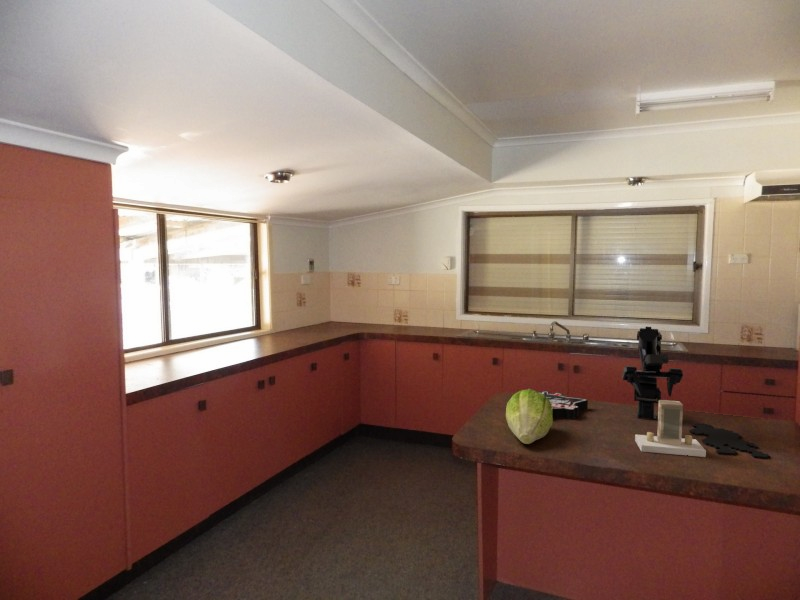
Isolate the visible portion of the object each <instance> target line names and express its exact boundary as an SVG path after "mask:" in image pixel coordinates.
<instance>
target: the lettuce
mask: <svg viewBox="0 0 800 600" xmlns="http://www.w3.org/2000/svg"><path fill="white" fill-rule="evenodd" d="M539 392H540V391H536V390H534V389H531V388H527V389H521V390H519V391H517V392H515V393H514V394H512V396H511V398H510V399H509V400H508V401H507V404H506V406H505V407H506V408H505V409H506V410H505V419H506V422H507V425H508V429H510V431H511V433H513V435H514V436H515V437H516V438H517V439H518V440H519V441H520V442H521V443H522V444H524V445H525V444H526V445H530V444H532V443H534V442H535V441H538V440H540V439H541V438H544V437H546V435H547V434H548V433H549V431H550V429H551V427H552V425H553V423H554V418H553V417H552V412H553V409H552V406H551V403H550V401H549V399H547V398H546V397H545V396H544V395H543V394H541V393H539Z"/></svg>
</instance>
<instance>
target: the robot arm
mask: <svg viewBox="0 0 800 600" xmlns="http://www.w3.org/2000/svg"><path fill="white" fill-rule="evenodd" d="M636 333H637V334H636V341H638V344H637V345H638V354H639V359H640V367H641V370H640V369H639V370H638V368H637V366H634V365H633V366H631V365H625V366H624V367H623V370H622V372H621V373H622V374H621V378H622V381H626V382H627V383H630V384H631V386H633V388H634V390H633V392H634V395H633V396H634V402H637V411H636V412H635V415H636V418H637V419H643V420H647V419H648V420H657V416H656V415H655V408H656V406H655V405H656V404H658V405H659V400H662V390H661V389H660V387H658V380H657V378H662V379H663V378H664V379H665V378H666V388H667V394H668V398H671V396H672V392H673V388H674V386H675V385H677V384H678V383H681V380H682V378H683V376H684V372H683V370H682V369H681V368H679V367H678V368H677V367H669V369H668V370H667V371H661V370H662V369H663V365H664V364H668V363H669V360H670V359H669V355H668V353H662V341H663V335H662V334H661V332H660V331H659V329H658V328H652V326H645V327H644V328H643V327H639V330H637V332H636Z"/></svg>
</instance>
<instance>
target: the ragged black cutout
mask: <svg viewBox="0 0 800 600" xmlns="http://www.w3.org/2000/svg"><path fill="white" fill-rule="evenodd" d="M691 427H692V428H691V429H688V432H689V433H690V434H691V435H695V436H701V437H702V436H705V437H706V438H703V439H702V438H701V442H702V443H703V444H704V445H705V446H709V447H711V448H712V447H713V448H714V449H715V453H717V455H722V454H723V456H724V455H725V456H733V457H734V456H736V455H739V454H738V453H739V452H741V453H747V454H750V456H751V457H752V458H753V459H762V460H769V459H771V455H770V454H768V453H764V452H763V451H761V450H759V446H758V445H757V444H755V443H754V442H750V441H745V440H742V439H743V436H742V435H741V434H740V433H738V432H734V431H732V430H729V429H724V428H719V427H718V428H716V427H714V425H712V424H708V423H702V422H701V423H700V422H695V423H692V424H691ZM693 427H694V428H693Z"/></svg>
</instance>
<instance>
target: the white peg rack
mask: <svg viewBox="0 0 800 600" xmlns="http://www.w3.org/2000/svg"><path fill="white" fill-rule="evenodd" d="M634 441H635V443H636V445H637V446H638V448H639V450H640V452H645V453H655V454H665V455H666V454H667V455H678V456H687V455H688V456H691V457H701V458H706V456H707V450H706V449H705V448H704V447H703V446H702V444H701V443H700V442H699V441H698V440H697V439H694V438H693V436H692V435H690V434H685V435H684V438H682V439H681V445H671V444H660V443H659V441H658V440H657V435H655V433H654V432H651V431H647V432H646V434H636V433H635V435H634Z"/></svg>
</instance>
